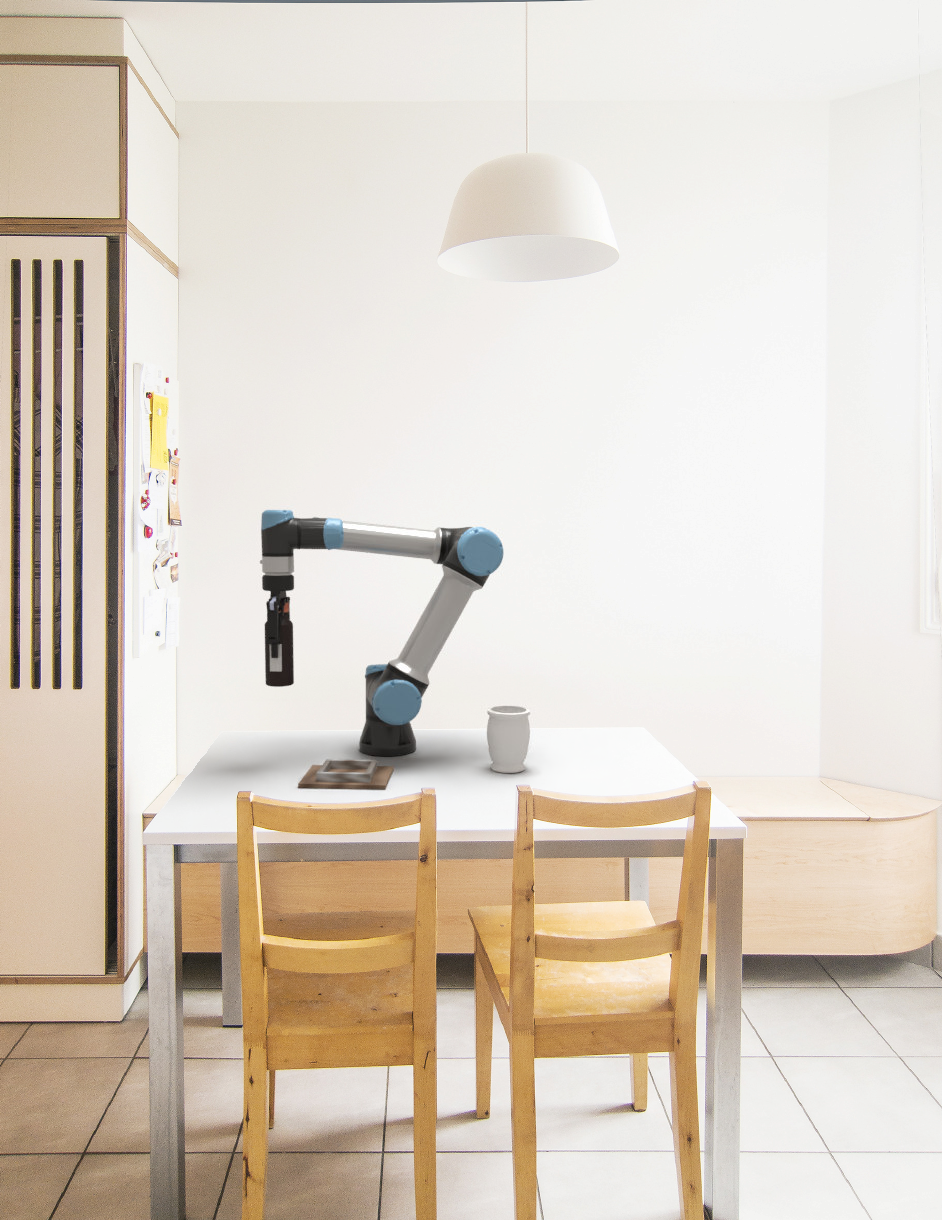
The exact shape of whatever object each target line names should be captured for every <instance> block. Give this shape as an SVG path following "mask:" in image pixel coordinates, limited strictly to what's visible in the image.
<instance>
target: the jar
mask: <svg viewBox="0 0 942 1220" xmlns="http://www.w3.org/2000/svg"><path fill="white" fill-rule="evenodd" d="M487 715H489V717H488V721H487V725H486V740H487V746H488V753H489V756H490V760H491V761H492V763H491V764H490V768H491V770H492V771H494V772H496V773H497V772H498V773H502V774H515V773H520V772H523V771H525V769H526V766H525V764H524V762H525V760H526V758H527V755H528V749H529V744H530V739H531V738H530V737H531V727H530V720H529V716H530V715H531V709H530V708H527V707H523V706H518V705H517V706H515V705H497V706H492V707H489V708H487Z"/></svg>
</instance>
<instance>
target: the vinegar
mask: <svg viewBox="0 0 942 1220" xmlns="http://www.w3.org/2000/svg"><path fill="white" fill-rule="evenodd" d="M289 607H290V606H289V603H285V606H284V616H283V617H282V621H281V637H280V644H282V671H270V644H266V641H267V620H266V621H265V622H264V658H265V659H264V660H265V661H264V664H265V666H264V667H265V668H264V670H265V685H266V686H268V687H275V688H277V687H281V688H282V687H289V686H292V685H294V683H295V677H294V676H295V675H294V669H295V668H294V667H295V666H294V665H295V662H294V623H293V621H292V620H291V619H290V620H289V619H288V614H289V613H288V612H289ZM280 612H281V610H280V611H279V612H278V613H280Z"/></svg>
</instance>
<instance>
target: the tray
mask: <svg viewBox="0 0 942 1220" xmlns="http://www.w3.org/2000/svg"><path fill="white" fill-rule="evenodd" d="M394 770H395V768H394V765H393V766H390V765H378V760H377V759H349V758H348V759H337V758H335V759H333V758H332V759H331V758H326V759H325V761H324V762H323V763H322V764H312V765H311V766H310V767H309V769H308V770H307V772H306V773H305V774H304V776H302V778H301V779H300V781H299V782H298V783H297V787H298V789H330V790H331V789H332V790H333V789H335V790H336V789H337V790H340V789H341V790H380V791H381V790H382V791H383V790H385V791H386V790H387V786H388V784H389V782H390V780H391V777H392V775H393V773H394Z"/></svg>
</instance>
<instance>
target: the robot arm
mask: <svg viewBox="0 0 942 1220" xmlns="http://www.w3.org/2000/svg"><path fill="white" fill-rule="evenodd" d="M260 521H261V525H260V534H261V536H260V537H261V540H260V541H261V559H260V560H259V563H260V564H261V567H262V570H261V571H262V573H264V574H263V575H262V576H261V583H262V584H261V585H262V587H261V589H262V590H263V591H265V592H270V595H269V598H268V600H267V601H266V603H265V604H266V605H265V606H266V621H267V641H266V644H270V671H282V644H280V637H281V621H282V617H283V616H284V606H285V603H289V612H288V613H289V614H288V619H289V620H290V621H291V613H290V611H291V609H290V602H291V597H290V596H288V595H287V592H289V591H290V592H291V591H293V590H294V589H295V575H294V574H293V573H294V572H295V559H294V558H295V556H294V553H295V552H294V550H328V551H331V550H338V551H340V550H341V551H350V552H358V553H367V554H368V553H369V554H378V555H385V556H395V557H405V558H412V559H424V560H430V561H431V562H432V564H435V565H441V570H442V572H443V575H442V578H441V579H440V581H439V583H438V585H436V586H437V587H436V588H435V590H434V592H433V594H432V595H431V598H430V599H429V601H428V603H427V605H426V606H425V607H424V608H425V609H424V610H423V611H422V614H421V616H420V617H419V619H418V621H417V623H416V625H415V627H414V629H413V630H412V631H411V633H410V636H409V637H408V639H407V641H406V642H405V644H404V646H403V648H402V650H401V652H400V654H398V655H399V656H398V657H397V658H395V659H391V660H389V661H388V663H383V664H382V663H379V664H370V665H367V666H366V668H365V674H364V679H365V722H364V726H363V728H362V732H361V736H360V738H359V740H358V741H359V742H358V749H359V751H360V753H362V754H365V755H369V756H375V757H395V756H398V757H399V756H404V755H407V754H408V755H409V754H411V753H413V752H416V751H417V739H416V736H415V733H414V730H413V727H412V724H411V722H412V721H413V720H414V719H415V718H416V717H417V716H418V714H419V712H420V710H421V708H422V704H423V703H422V698H423V696H424V694H426V691H427V689H428V687H429V685H430V684H431V683H430V680H429V673H430V671H431V669H432V667H433V666H434V664H435V662H436V660H437V658H438V656H439V655H440V653H441V651H442V650H443V648H444V646H445V644H446V643H447V640H448V639H449V637H450V635H451V633H452V632H453V629H454V628H455V626H456V624H457V622H458V620H459V618H460V617H461V615H462V613H463V612H464V609H465V608H466V606H467V604H468V602H469V601H470V599H471V597H472V596H473V593H474V592H476V591H478V590H481V589H482V590H483V587H484V586H485V584H486V582H487V581H488V578H489V577H490V575H491V574H493V573H495V572H496V571H497V570H498V569H499V567H500V566H501V564H502V562H503V558H504V547H503V543H502V541H501V539H500V537H498V535H497V534H496V533H495V532H493V531H491V530H490V529H487V528H486V527H483V526H474V527H473V526H466V527H456V528H455V527H450V528H449V527H448V528H447V527H446V528H445V527H437V528H436V529H434V530H430V529H420V528H411V527H403V526H402V527H401V526H395V525H393V526H392V525H387V524H386V525H384V524H377V523H376V524H375V523H368V522H367V523H366V522H359V521H358V522H356V521H346V520H342V519H340V518H334V517H333V518H332V517H325V518H324V517H317V516H316V517H315V516H314V517H310V518H309V517H308V518H300V517H299V518H298V517H295V516H294V512H293V511H292V509H265V510H263V512H262V513H261V520H260ZM280 610H281V612H280V613H278V612H279V611H280Z"/></svg>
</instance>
